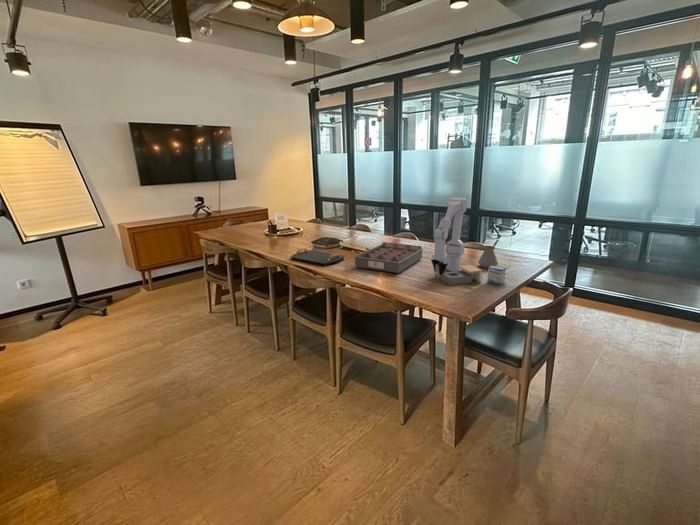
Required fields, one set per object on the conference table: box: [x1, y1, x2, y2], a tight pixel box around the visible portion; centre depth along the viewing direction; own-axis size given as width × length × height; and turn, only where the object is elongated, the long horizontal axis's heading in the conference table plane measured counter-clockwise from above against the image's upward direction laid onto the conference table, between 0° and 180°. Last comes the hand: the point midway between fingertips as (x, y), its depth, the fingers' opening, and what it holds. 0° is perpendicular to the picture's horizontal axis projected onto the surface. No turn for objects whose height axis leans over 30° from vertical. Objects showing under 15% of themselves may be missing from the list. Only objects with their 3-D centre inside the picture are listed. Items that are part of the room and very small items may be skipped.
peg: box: [434, 264, 441, 280], centre depth 203 cm, size 4×4×8 cm
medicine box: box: [487, 265, 507, 286], centre depth 193 cm, size 8×4×9 cm, turn 44°
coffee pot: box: [478, 239, 500, 269], centre depth 224 cm, size 21×12×15 cm, turn 138°
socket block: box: [440, 270, 474, 286], centre depth 198 cm, size 10×14×4 cm
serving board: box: [289, 248, 345, 267], centre depth 250 cm, size 39×23×6 cm, turn 53°
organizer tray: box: [353, 241, 424, 274], centre depth 234 cm, size 32×40×10 cm
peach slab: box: [458, 264, 483, 283], centre depth 199 cm, size 12×8×7 cm
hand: (438, 273), depth 203 cm, fingers open, 5 cm apart
